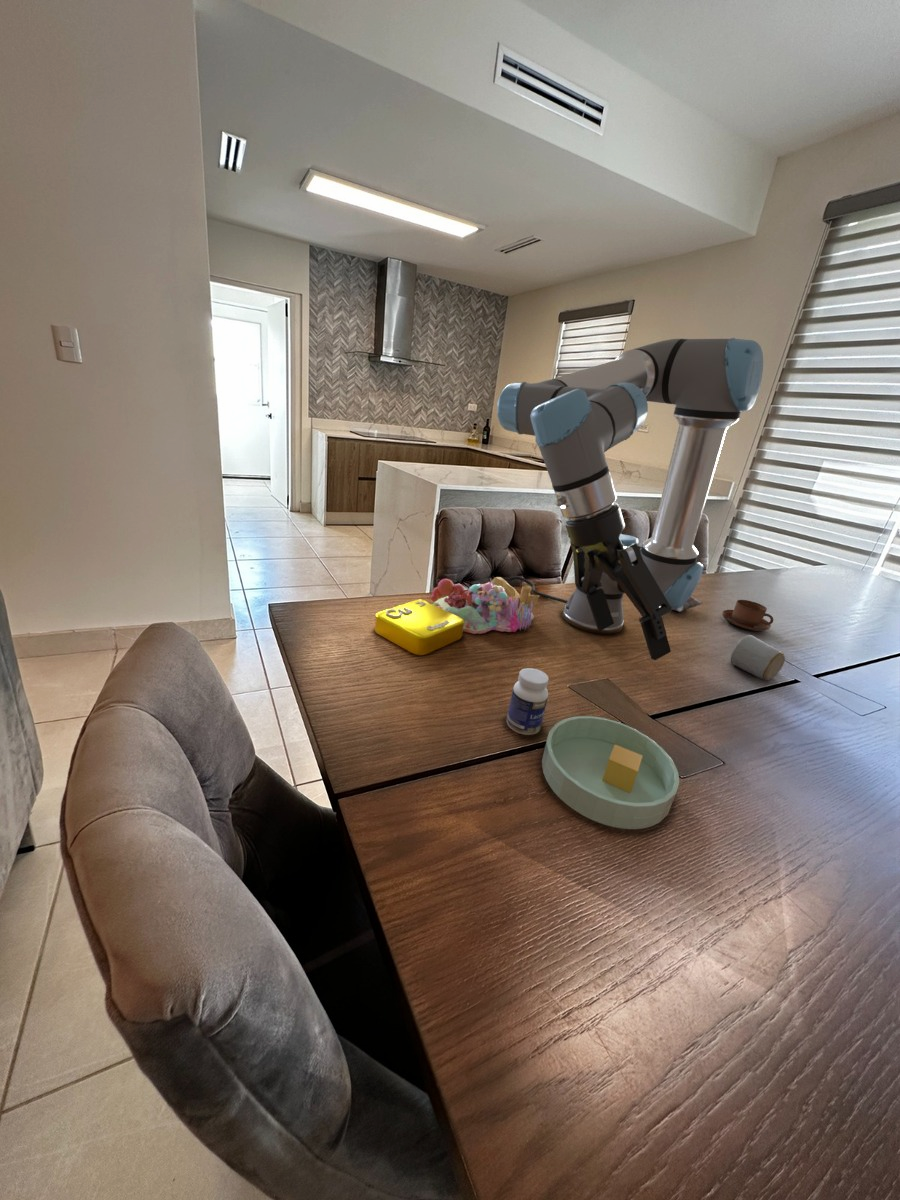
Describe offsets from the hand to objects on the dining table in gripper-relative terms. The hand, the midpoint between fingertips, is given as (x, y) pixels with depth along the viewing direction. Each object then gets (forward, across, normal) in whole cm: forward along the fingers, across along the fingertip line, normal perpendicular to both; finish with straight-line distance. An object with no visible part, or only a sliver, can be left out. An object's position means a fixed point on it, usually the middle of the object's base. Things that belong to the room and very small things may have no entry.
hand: (631, 639), depth 71 cm
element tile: (-1, -40, -27) cm, 48 cm away
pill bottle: (+10, -7, -20) cm, 23 cm away
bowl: (+15, +6, -14) cm, 21 cm away
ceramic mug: (+36, -21, +37) cm, 56 cm away
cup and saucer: (+42, -43, +56) cm, 82 cm away
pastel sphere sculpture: (+6, -50, -10) cm, 51 cm away
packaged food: (+34, -54, +44) cm, 78 cm away
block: (+15, +7, -12) cm, 20 cm away
